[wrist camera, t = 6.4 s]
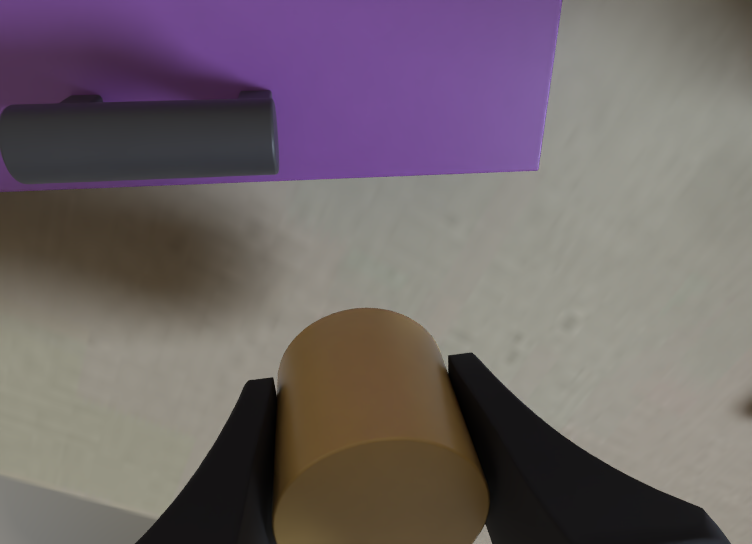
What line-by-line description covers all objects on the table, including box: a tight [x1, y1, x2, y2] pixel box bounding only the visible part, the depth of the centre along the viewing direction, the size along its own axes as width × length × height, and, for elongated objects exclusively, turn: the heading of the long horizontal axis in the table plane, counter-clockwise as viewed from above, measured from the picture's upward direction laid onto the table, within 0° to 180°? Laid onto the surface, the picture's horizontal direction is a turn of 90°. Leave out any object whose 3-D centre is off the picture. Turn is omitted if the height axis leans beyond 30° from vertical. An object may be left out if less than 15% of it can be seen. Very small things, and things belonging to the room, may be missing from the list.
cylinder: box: [272, 308, 490, 544], centre depth 14 cm, size 4×4×4 cm
